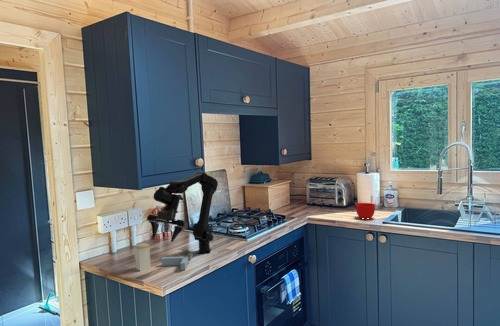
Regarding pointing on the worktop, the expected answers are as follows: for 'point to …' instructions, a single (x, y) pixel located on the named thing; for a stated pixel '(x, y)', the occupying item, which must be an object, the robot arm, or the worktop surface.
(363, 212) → the ceramic cup
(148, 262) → the tea tin
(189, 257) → the egg carton
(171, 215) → the robot arm
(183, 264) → the corner fence
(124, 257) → the worktop surface
